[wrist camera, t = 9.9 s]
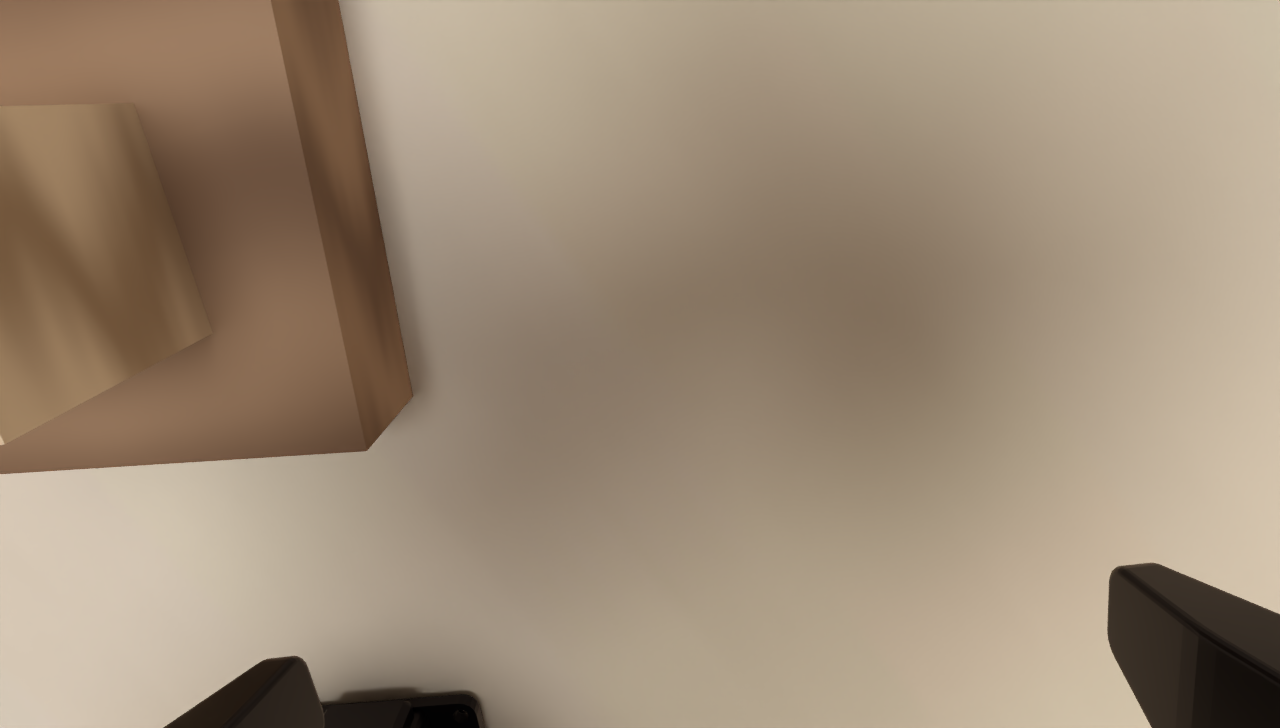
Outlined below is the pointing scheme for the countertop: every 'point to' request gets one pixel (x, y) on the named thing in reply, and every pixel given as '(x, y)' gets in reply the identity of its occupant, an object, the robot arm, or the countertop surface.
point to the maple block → (84, 261)
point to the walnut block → (231, 227)
